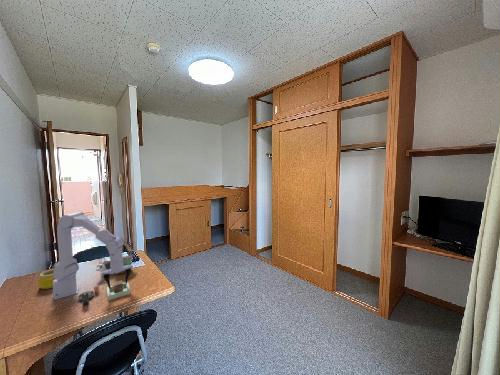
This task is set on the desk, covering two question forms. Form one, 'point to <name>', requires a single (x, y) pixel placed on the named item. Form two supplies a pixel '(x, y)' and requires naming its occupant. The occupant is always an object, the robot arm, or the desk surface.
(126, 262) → the food container
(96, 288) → the post
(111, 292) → the tray
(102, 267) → the giant panda
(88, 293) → the crank
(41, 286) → the mug
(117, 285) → the block
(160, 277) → the desk surface
